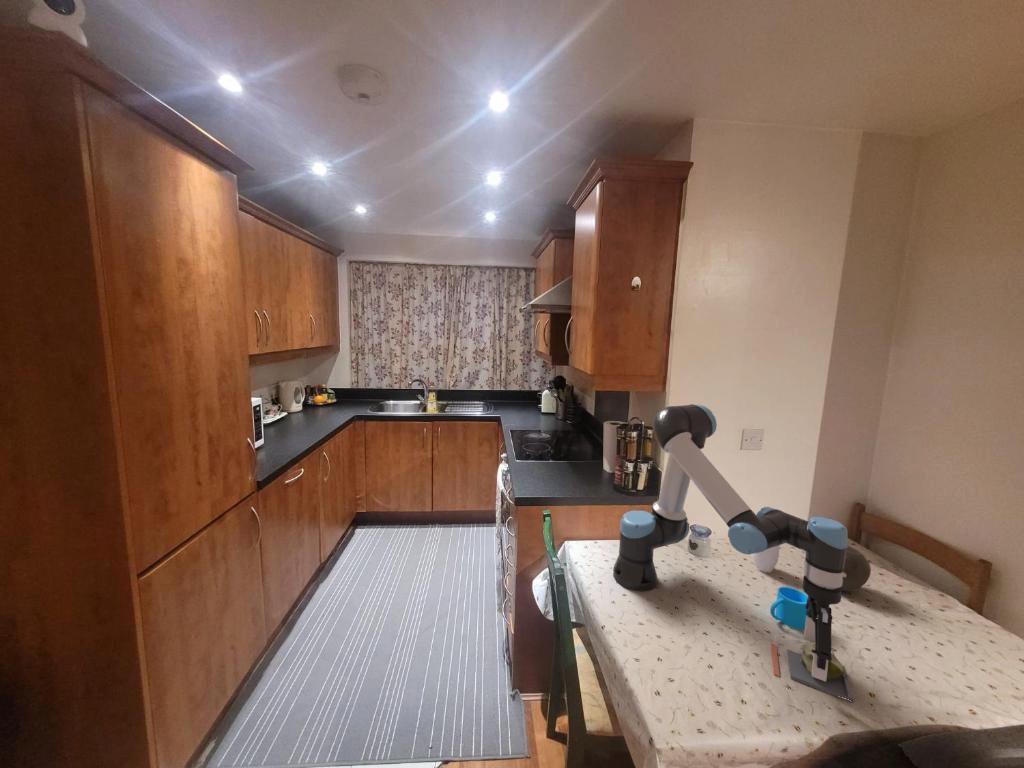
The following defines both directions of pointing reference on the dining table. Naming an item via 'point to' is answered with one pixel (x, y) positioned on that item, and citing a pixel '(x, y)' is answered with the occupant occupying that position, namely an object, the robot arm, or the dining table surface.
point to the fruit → (833, 666)
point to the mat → (830, 686)
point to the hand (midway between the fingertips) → (814, 658)
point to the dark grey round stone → (855, 570)
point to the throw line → (775, 660)
